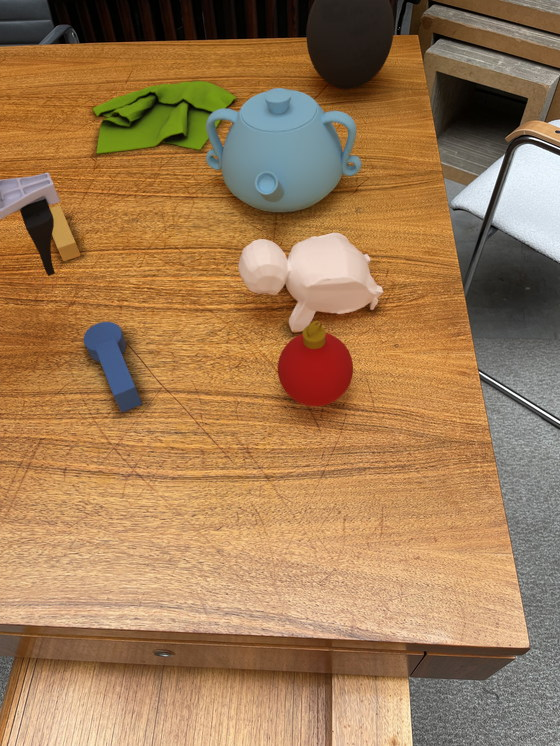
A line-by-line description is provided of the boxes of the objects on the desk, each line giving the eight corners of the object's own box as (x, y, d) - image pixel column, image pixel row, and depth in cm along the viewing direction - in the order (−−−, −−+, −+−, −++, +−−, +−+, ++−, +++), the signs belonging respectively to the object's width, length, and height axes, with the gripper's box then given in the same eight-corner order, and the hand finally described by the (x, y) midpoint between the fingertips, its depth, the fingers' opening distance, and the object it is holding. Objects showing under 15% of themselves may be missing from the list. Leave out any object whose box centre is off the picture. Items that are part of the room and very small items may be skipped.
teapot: (364, 153, 86) (369, 60, 76) (352, 255, 74) (356, 160, 64) (222, 149, 89) (208, 58, 78) (188, 246, 77) (167, 154, 67)
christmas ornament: (323, 351, 66) (322, 281, 58) (366, 396, 62) (372, 328, 54) (266, 385, 63) (257, 317, 55) (308, 433, 60) (304, 368, 52)
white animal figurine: (345, 285, 75) (223, 271, 70) (375, 228, 69) (243, 209, 64) (364, 339, 70) (234, 329, 65) (398, 282, 64) (257, 266, 59)
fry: (81, 255, 77) (75, 242, 75) (63, 262, 76) (57, 248, 75) (65, 218, 81) (59, 204, 80) (48, 224, 81) (42, 210, 79)
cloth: (253, 94, 97) (251, 79, 95) (175, 175, 85) (172, 160, 83) (142, 70, 103) (139, 55, 101) (57, 143, 92) (51, 128, 90)
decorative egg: (307, 65, 101) (305, -41, 89) (386, 61, 100) (394, -46, 88) (307, 108, 93) (304, -2, 82) (392, 104, 93) (401, -7, 81)
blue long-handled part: (151, 401, 63) (144, 383, 61) (112, 416, 62) (104, 399, 60) (120, 328, 69) (112, 309, 67) (84, 342, 68) (76, 323, 66)
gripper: (22, 109, 54) (73, 233, 65) (-157, 160, 51) (-72, 282, 62) (40, 150, 50) (91, 276, 61) (-154, 209, 47) (-63, 330, 58)
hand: (10, 282), depth 61 cm, fingers open, 7 cm apart
